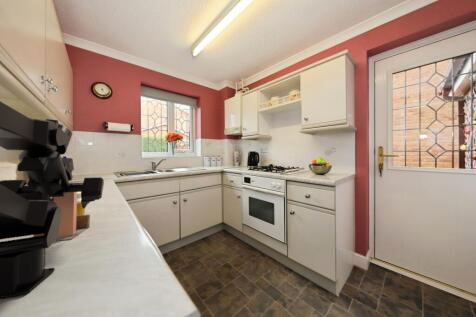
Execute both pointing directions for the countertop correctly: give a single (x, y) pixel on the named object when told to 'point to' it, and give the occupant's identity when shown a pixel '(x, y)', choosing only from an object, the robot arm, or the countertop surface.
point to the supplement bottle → (79, 205)
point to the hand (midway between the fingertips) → (62, 208)
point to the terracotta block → (67, 213)
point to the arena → (81, 226)
